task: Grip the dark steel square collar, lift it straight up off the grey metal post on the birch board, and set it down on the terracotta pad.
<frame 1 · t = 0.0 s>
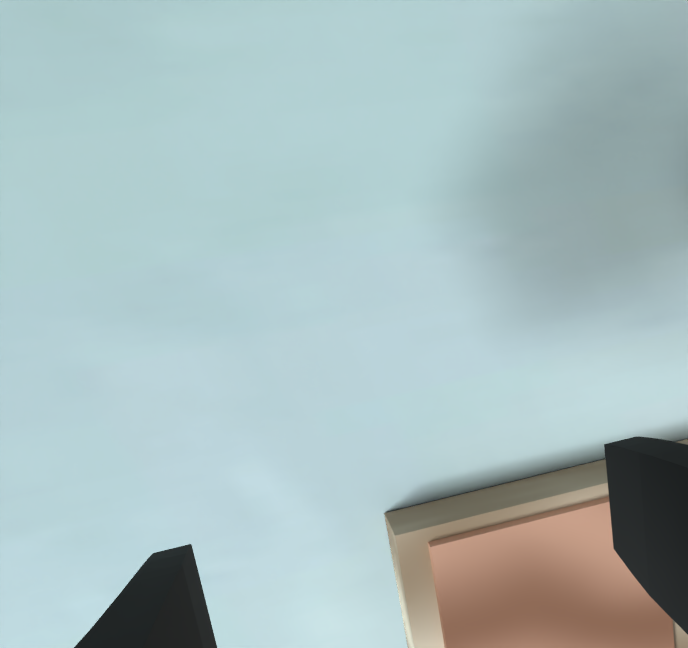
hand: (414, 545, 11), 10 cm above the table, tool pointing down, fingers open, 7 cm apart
stand: (669, 639, 25), on the table
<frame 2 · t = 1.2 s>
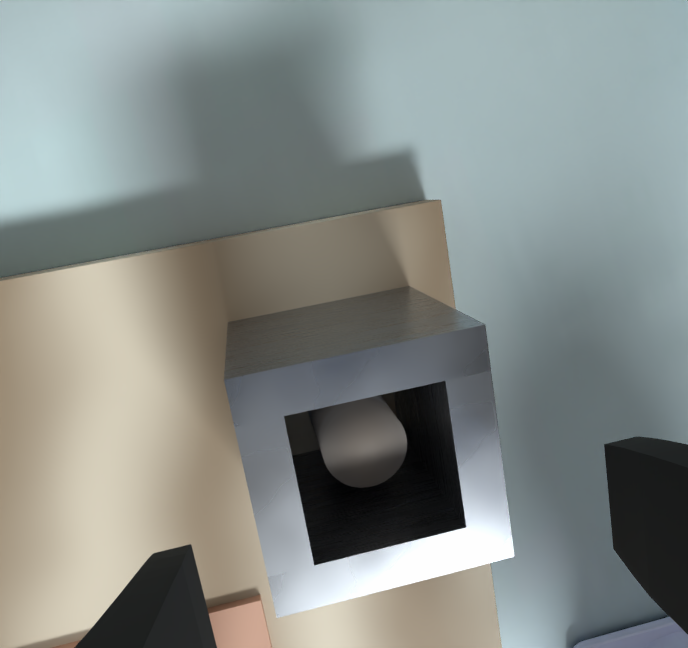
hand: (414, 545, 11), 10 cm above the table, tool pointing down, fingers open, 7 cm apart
collar: (336, 390, 19), point 1 cm above the table, touching stand
stand: (237, 545, 21), on the table
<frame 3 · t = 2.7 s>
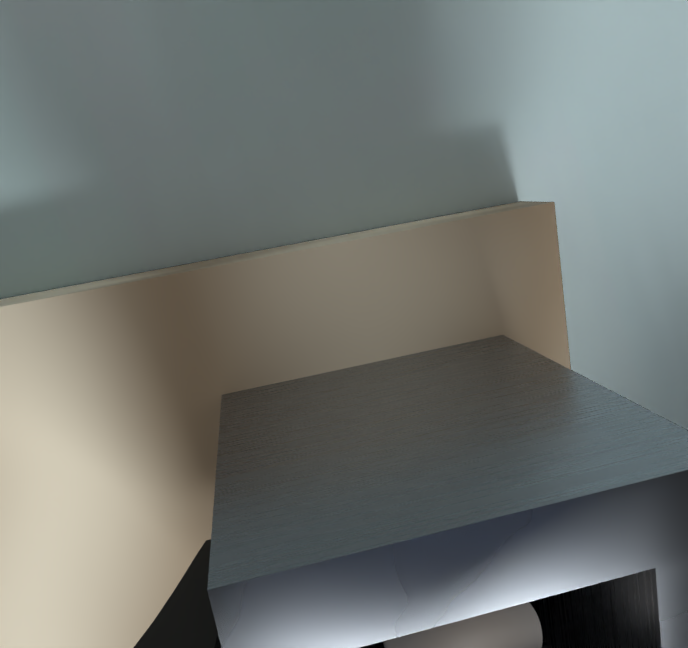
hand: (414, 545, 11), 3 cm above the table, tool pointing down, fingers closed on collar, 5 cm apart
collar: (388, 495, 13), point 1 cm above the table, touching gripper, stand
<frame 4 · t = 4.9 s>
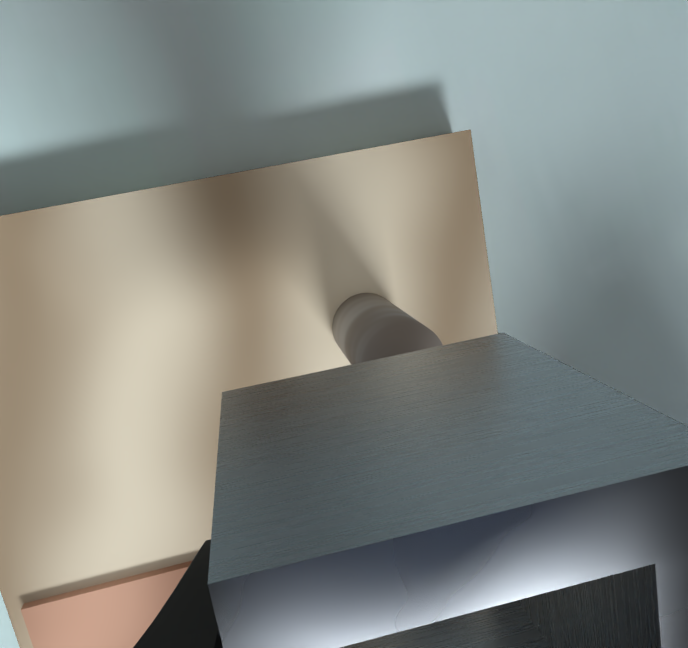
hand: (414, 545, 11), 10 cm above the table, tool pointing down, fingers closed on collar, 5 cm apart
collar: (388, 492, 13), point 8 cm above the table, touching gripper
stand: (265, 489, 21), on the table
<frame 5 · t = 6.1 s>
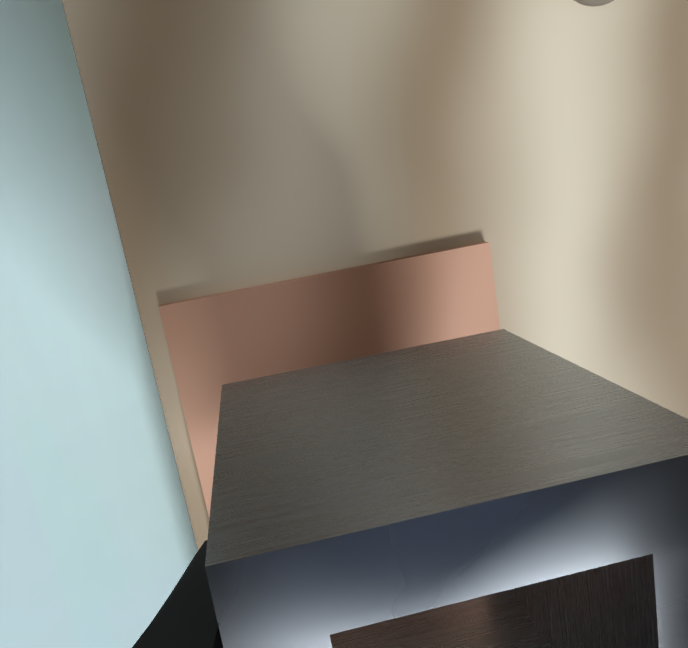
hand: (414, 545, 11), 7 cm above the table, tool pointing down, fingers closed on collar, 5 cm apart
collar: (387, 488, 13), point 5 cm above the table, touching gripper
stand: (441, 203, 17), on the table
when the fingers open (5 cm above the table, at t = 7.0 s): collar drops 1 cm, resting on stand.
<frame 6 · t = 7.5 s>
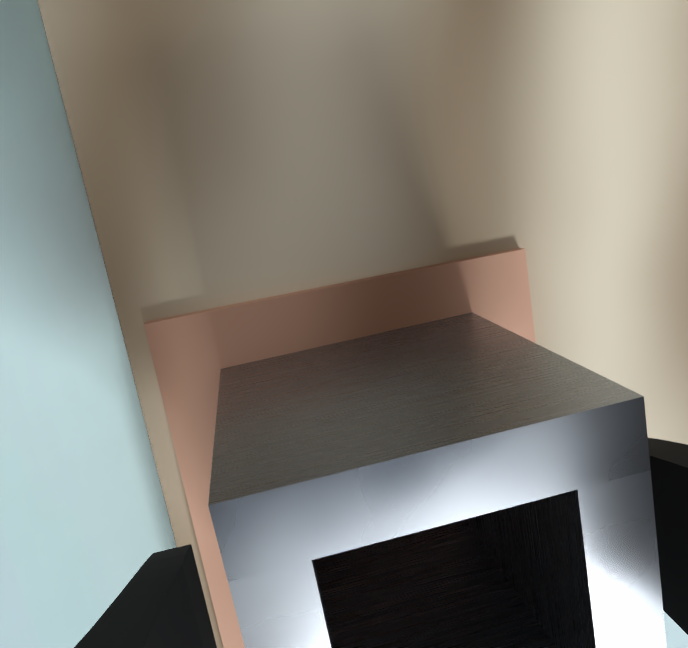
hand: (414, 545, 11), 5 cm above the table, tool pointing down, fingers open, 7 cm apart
collar: (372, 458, 14), point 2 cm above the table, touching stand
stand: (467, 204, 15), on the table
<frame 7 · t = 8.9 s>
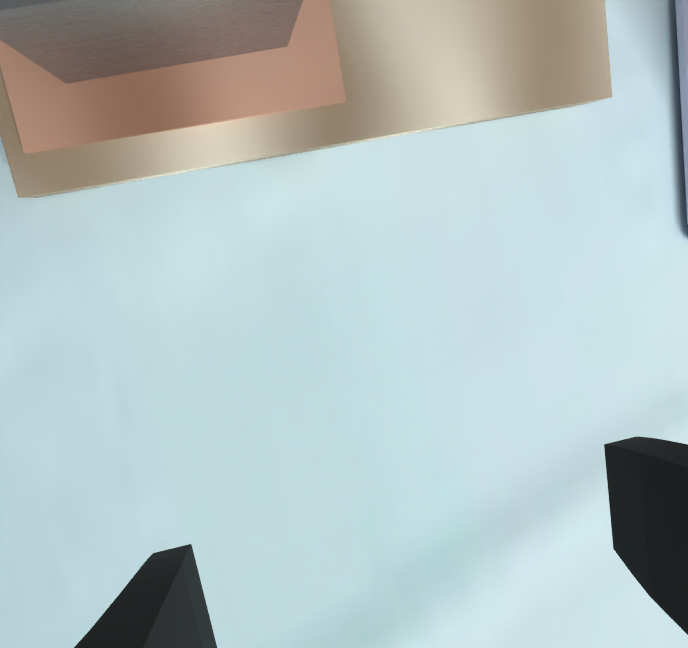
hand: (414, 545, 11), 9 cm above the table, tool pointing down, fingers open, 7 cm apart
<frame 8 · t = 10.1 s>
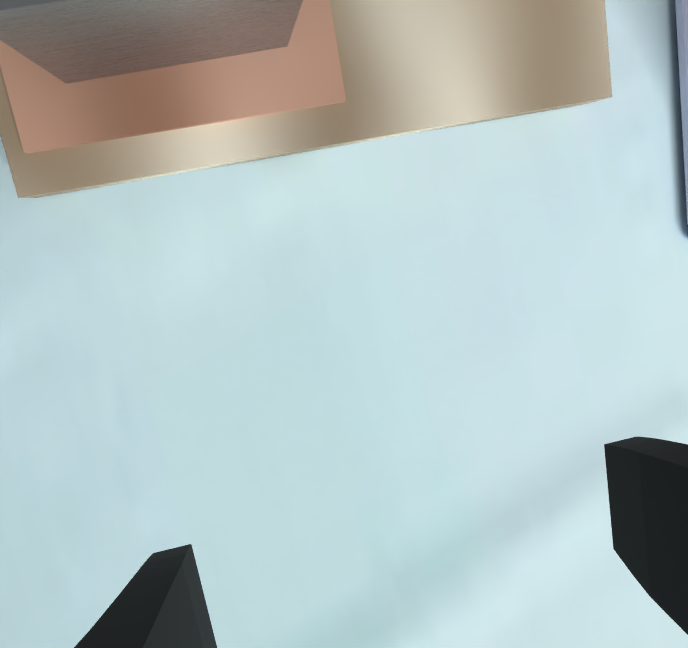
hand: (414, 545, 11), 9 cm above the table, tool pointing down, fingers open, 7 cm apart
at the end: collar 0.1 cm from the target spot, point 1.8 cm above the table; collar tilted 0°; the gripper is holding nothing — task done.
